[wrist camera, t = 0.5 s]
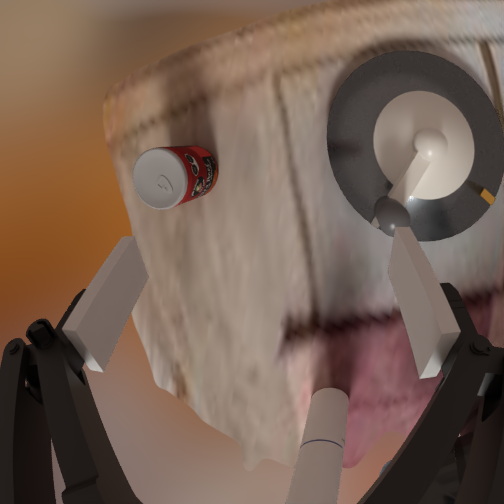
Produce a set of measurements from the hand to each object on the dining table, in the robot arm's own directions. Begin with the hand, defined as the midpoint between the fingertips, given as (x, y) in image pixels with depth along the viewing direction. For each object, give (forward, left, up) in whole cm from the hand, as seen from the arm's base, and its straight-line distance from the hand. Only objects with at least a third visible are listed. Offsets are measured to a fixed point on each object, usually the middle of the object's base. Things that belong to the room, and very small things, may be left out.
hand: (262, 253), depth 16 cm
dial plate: (-9, -13, -30) cm, 34 cm away
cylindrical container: (-23, +31, -30) cm, 49 cm away
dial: (-9, -10, -28) cm, 31 cm away
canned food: (+16, +7, -30) cm, 35 cm away
